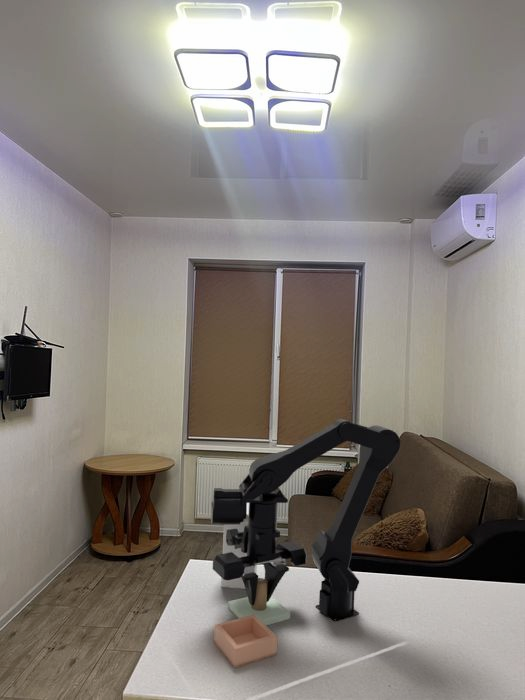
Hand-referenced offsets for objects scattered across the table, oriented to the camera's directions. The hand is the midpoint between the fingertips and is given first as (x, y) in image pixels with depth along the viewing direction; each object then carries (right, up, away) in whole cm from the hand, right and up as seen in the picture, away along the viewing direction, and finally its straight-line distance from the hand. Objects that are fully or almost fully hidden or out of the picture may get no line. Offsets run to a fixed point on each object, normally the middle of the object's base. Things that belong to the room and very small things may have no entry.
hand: (259, 602), depth 96 cm
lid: (0, -2, 0) cm, 2 cm away
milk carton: (-5, -3, +14) cm, 15 cm away
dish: (-2, -2, -12) cm, 12 cm away
